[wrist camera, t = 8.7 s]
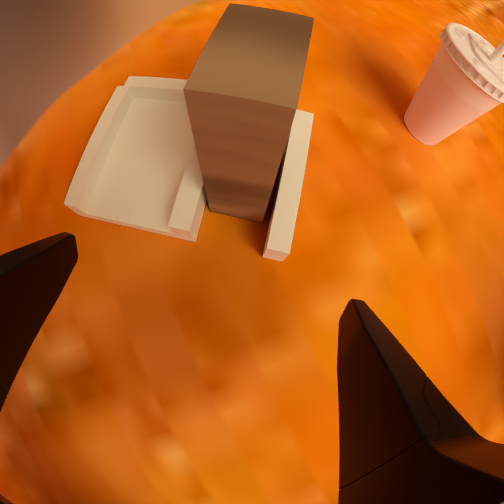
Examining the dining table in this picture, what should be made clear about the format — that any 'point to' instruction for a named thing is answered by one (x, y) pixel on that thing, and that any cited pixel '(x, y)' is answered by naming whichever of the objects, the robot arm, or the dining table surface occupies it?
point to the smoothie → (456, 85)
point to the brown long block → (246, 104)
